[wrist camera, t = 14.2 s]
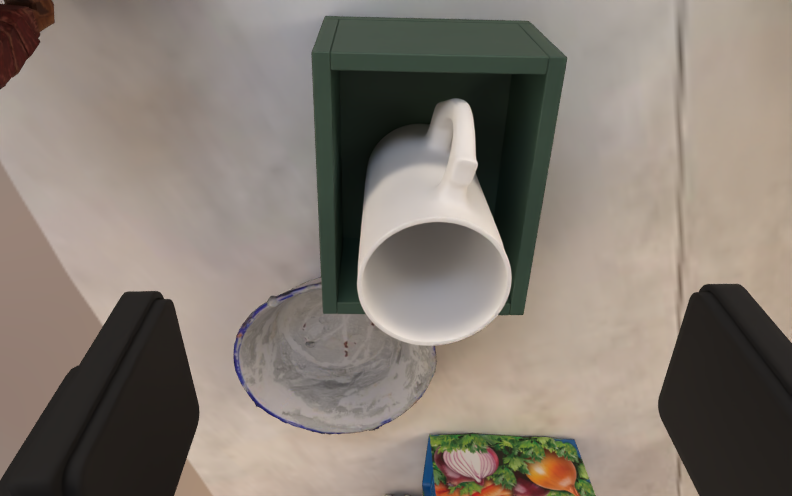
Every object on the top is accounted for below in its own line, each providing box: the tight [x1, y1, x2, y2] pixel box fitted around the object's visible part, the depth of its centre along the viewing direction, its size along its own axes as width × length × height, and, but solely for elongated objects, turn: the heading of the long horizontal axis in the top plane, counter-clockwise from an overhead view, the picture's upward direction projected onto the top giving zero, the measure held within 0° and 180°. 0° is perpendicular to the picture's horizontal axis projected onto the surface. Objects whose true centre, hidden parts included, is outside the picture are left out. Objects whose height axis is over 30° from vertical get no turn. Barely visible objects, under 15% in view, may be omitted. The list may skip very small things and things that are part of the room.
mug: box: [357, 98, 512, 346], centre depth 31 cm, size 10×7×12 cm, turn 166°
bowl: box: [234, 278, 437, 434], centre depth 42 cm, size 13×13×5 cm
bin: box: [312, 16, 567, 315], centre depth 33 cm, size 11×14×8 cm
